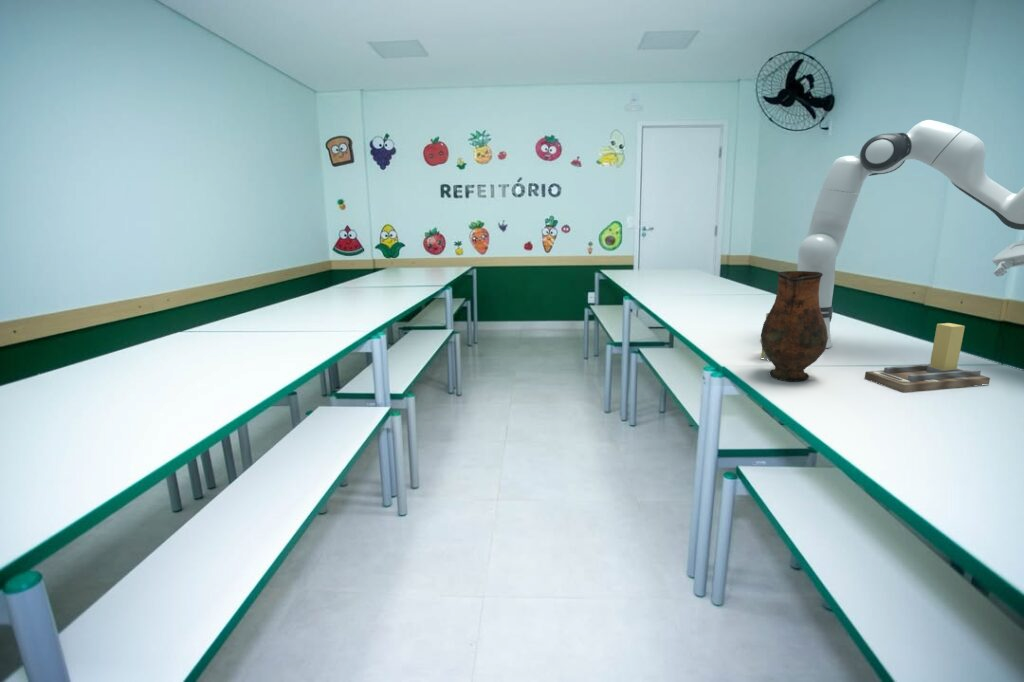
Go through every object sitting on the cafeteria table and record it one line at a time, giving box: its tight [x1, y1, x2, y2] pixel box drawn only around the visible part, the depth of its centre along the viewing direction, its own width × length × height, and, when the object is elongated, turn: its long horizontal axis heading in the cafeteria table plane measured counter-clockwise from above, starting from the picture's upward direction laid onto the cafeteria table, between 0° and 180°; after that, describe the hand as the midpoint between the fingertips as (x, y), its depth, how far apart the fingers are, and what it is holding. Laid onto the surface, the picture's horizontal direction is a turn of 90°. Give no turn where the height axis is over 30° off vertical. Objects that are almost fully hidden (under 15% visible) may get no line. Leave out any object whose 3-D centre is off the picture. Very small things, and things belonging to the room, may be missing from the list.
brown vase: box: [760, 270, 828, 382], centre depth 142 cm, size 17×21×30 cm
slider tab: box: [927, 322, 966, 373], centre depth 134 cm, size 5×4×14 cm
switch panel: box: [864, 363, 991, 393], centre depth 135 cm, size 26×12×4 cm, turn 99°
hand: (1012, 272), depth 131 cm, fingers open, 8 cm apart
